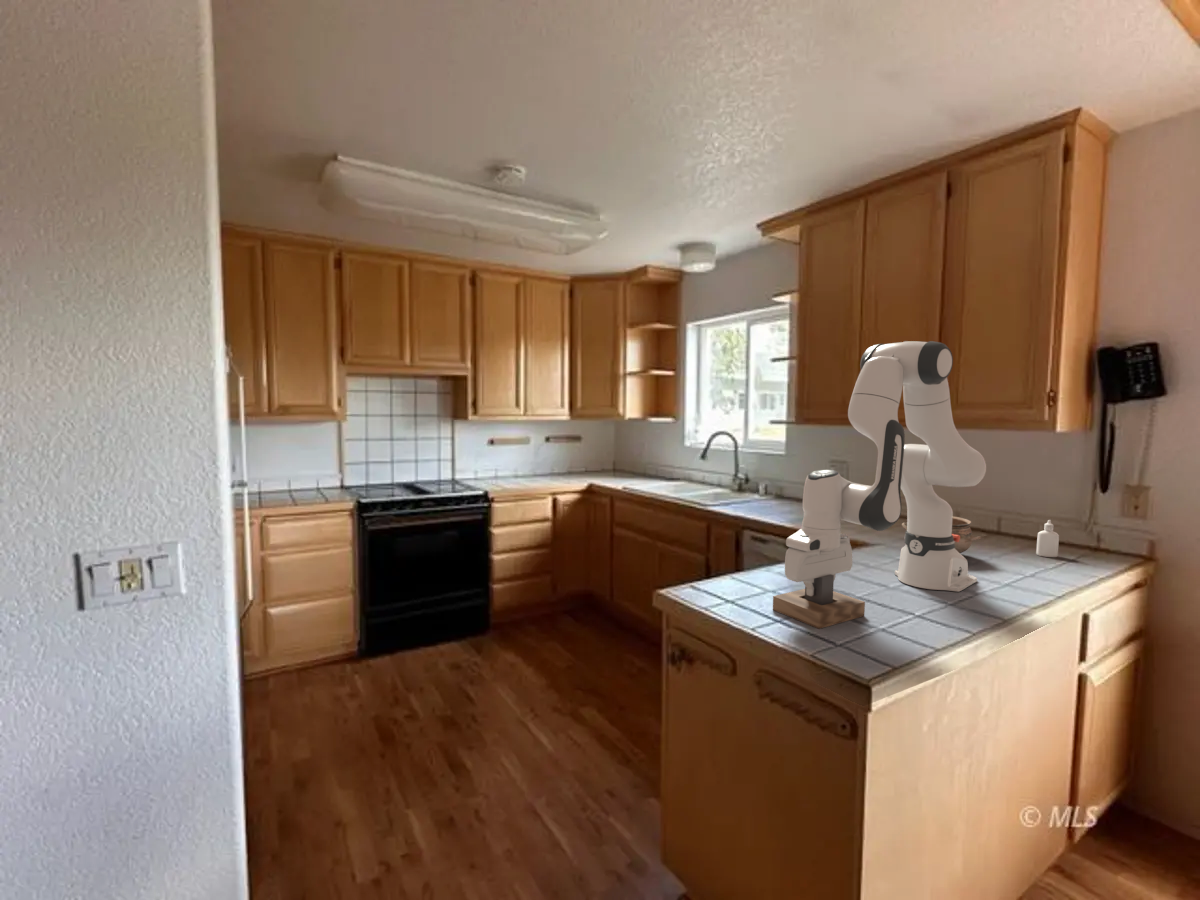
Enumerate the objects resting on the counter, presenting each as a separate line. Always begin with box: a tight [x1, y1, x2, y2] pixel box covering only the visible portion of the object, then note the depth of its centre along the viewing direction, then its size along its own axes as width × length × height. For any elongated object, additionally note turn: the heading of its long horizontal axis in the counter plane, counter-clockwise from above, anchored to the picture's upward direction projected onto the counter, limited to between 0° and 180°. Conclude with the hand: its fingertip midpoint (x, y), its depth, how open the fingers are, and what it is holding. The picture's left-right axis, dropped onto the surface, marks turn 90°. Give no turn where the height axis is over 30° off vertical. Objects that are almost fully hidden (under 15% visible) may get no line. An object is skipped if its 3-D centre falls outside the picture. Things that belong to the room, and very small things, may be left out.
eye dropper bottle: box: [1035, 519, 1060, 558], centre depth 199 cm, size 4×6×12 cm
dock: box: [772, 588, 866, 630], centre depth 147 cm, size 16×14×4 cm
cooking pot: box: [901, 515, 982, 554], centre depth 199 cm, size 25×19×12 cm
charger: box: [804, 575, 835, 605], centre depth 147 cm, size 4×5×8 cm
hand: (818, 593), depth 147 cm, fingers closed on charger, 4 cm apart
